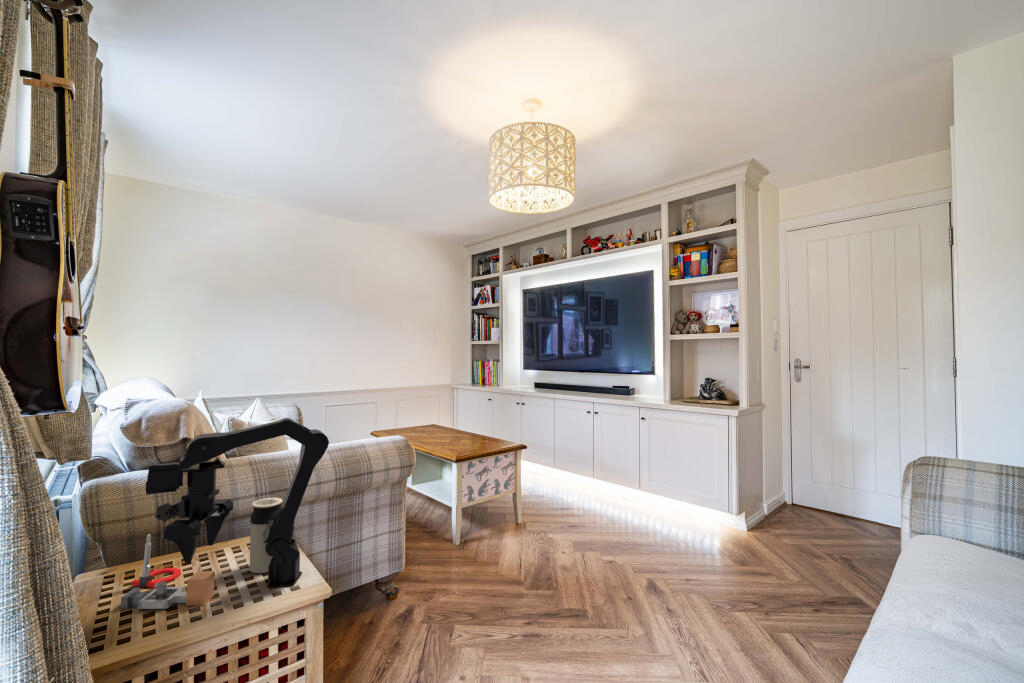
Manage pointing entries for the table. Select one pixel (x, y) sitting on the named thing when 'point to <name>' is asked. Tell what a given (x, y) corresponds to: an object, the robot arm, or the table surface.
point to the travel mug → (261, 532)
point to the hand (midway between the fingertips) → (199, 553)
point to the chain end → (184, 593)
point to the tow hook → (147, 575)
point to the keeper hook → (142, 595)
